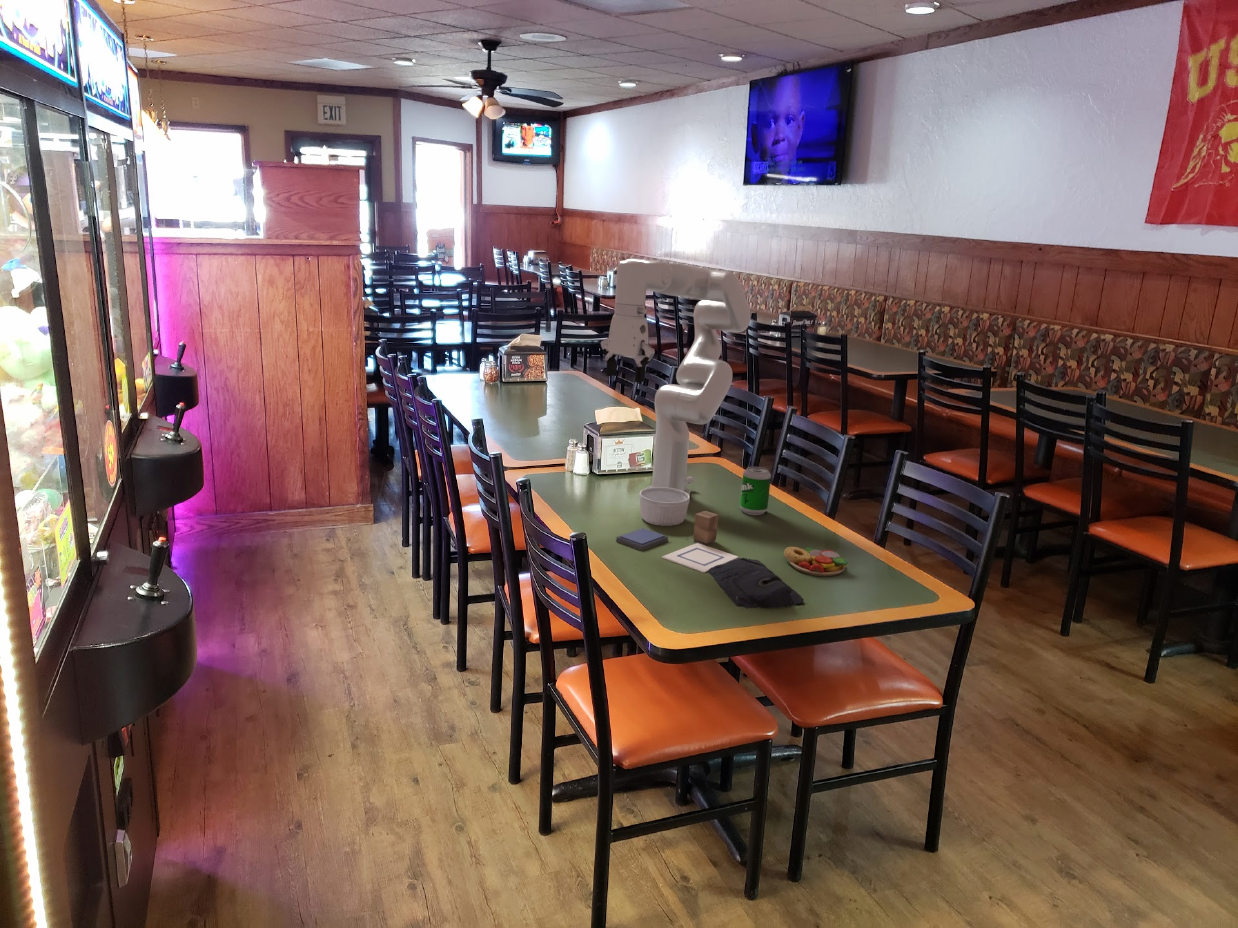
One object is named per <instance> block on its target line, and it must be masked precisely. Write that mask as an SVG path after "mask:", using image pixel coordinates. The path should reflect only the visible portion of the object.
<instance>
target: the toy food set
mask: <svg viewBox="0 0 1238 928" xmlns="http://www.w3.org/2000/svg"><path fill="white" fill-rule="evenodd" d="M783 556H784V557H785V559H787V560H788V562H789V564H790V565H791V566H792V567H793V568H794V569H795V570H797V571H799V572H801V573H804V574H806V575H812V576H815V577H817V576H818V577H834V576H836V575H840V574H841V573H842V572H844V571H845V568H846V567H848V565H849V563H848V562H849V561H848V559H846V558H843V557H840V554H838V553H837V552H836V551H834V550H832V549H824V550H820V549H814V548H812V547H805V548H804V549H803V548H799V547H796V546H788V547H786V548H785V549H784V552H783Z"/></svg>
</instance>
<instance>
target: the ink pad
mask: <svg viewBox="0 0 1238 928" xmlns="http://www.w3.org/2000/svg"><path fill="white" fill-rule="evenodd" d="M668 541H669V536H667V535H664V534H662V533H659V532H655V531H652V530H650V529H647V528H643V527H641V528H639V529H636V530H633V531H631V532H627V533H625V534H622V535H619V536H616V540H615V542H617V543H620V544H622V543H623V545H625V546H628V547H631V548H634V549H636V550H639V551H644V550H647V549H650V548H652V547H656V546H658V545H661V544H664V543H667V542H668Z"/></svg>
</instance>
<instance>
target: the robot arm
mask: <svg viewBox="0 0 1238 928" xmlns="http://www.w3.org/2000/svg"><path fill="white" fill-rule="evenodd" d="M615 282H616V283H615V284H616V286H615V300H614V312H613V313H614V314H613V315H612V318H611V322H610V327H609V332H608V338H606V339H603V340H601V342H600V347H601V349H602V351H601V352H602V354H603V355H604V360H605V361H606V368H605V369H606V371H605V374H606V375H605V376H606V377H613V376H614V377H615V376H616V375H617V366H618V365H617V364H618V360H617V357H618V356H619V357H620V356H621V357H625V358H631V359H633V360H634V361H635V363H636V365H637V366H635V368H634V383H643V382H645V378H646V367H647V366H649V363H650V362H651V361H652V360H653V359H652V358H654V355H655V352H656V351H655V349H654V348H652V347H651V346H650V345H649V326H648V319H647V318H646V317H645V315H647V313H648V309H647V308H646V298H647V297H646V296H647V295H646V294H647V291H649V292H653V293H658V294H663V295H667V296H671V297H673V296H674V297H678V298H679V297H680V298H686V299H687V298H688V299H694V300H700V301H698V302H697V303H696V305H695V307H694V310H693V324H694V340H693V342H692V345H691V347H690V348H689V350H688V351H687V353H686V354H685V357H684V358H683V359H682V361H681V363H680V364H679V367H678V369H677V371H676V376H675V378H676V382H677V383H678V384H673V383H670V384H669V383H667V384H665V385H662V386H660V387H659V388H658V389H657V391H656V392H655V395H654V411H655V420H656V422H655V439H654V450H653V452H654V454H653V468H652V480H651V484H650V485H648V486H647V487H646V488H652V487H667V488H674V489H678V490H681V491H684V492H686V493H687V494H688V495H689V496H691V490H689V488H688V487H687V486H688V484H692V483H694V481H695V479H694V477H693V476H688V477H687V469H688V455H689V447H690V446H689V445H690V431H689V427H688V425H687V423H690V424H696V425H705V424H708V423H710V422H711V420H712V419H713V418H714V417H715V414H716V413H717V411H718V409H719V408H720V406H721V404H722V402H723V400H725V397H726V395H727V394H728V392H729V390H730V387H731V386H732V382H733V370H732V367H731V366H730V364H729V363H728V362H726V361H724V360H721V359H719V358H720V356H721V354H722V345H721V342H720V338H719V337H718V333H717V331H724V332H728V333H741V332H744V331H745V330H747V329H748V327H749V325H750V324H751V319H752V316H751V314H752V313H751V308H750V305H749V303H748V300H747V297H746V294H745V292H744V289H743V286H742V284H741V281H739V279H738V277H737V276H736V275H735V273H733V272H732V271H728V270H718V269H710V268H704V267H703V268H702V267H697V266H692V265H689V264H688V265H687V264H681V263H672V262H671V263H670V262H668V263H667V262H665V261H663V260H662V261H661V260H654V259H653V260H651V259H646V258H645V259H643V258H628V259H626V260H620V261H619V262H618V263H617V268H616V281H615Z"/></svg>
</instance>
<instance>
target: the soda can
mask: <svg viewBox="0 0 1238 928" xmlns="http://www.w3.org/2000/svg"><path fill="white" fill-rule="evenodd" d="M771 477H772V474H771V472H770V471H769V469H767V468H765V467H760V466H748V467H746V469H745V470H743V472H742V480H741V493H740V500H739V501H740V502H739V508H740V509H741V511H742V512H743V513H744V514H747V515H750V516H761V514H762V515H764V513H765V512H767V511H768V507H769V498H770V490H771V489H770V488H771V479H772V478H771Z"/></svg>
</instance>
